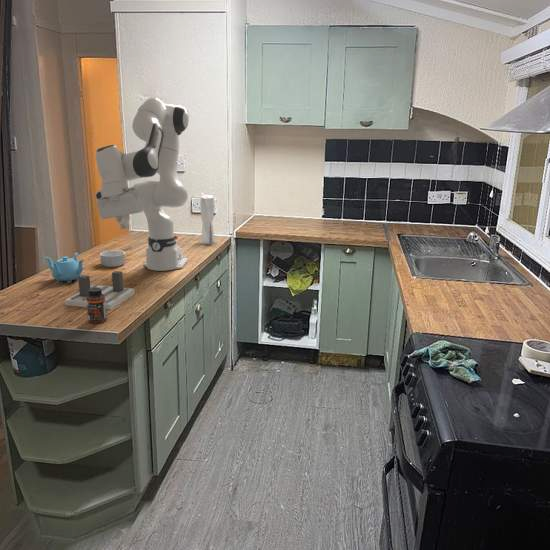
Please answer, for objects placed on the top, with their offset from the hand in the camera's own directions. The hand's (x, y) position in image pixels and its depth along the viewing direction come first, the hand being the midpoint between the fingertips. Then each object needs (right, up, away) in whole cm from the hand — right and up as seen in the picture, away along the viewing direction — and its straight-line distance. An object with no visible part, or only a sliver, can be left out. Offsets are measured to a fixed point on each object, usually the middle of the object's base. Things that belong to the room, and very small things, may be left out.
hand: (125, 228), depth 184 cm
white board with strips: (-11, -26, +5) cm, 29 cm away
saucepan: (-19, -11, +53) cm, 58 cm away
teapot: (-32, -19, +26) cm, 46 cm away
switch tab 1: (-16, -25, +3) cm, 29 cm away
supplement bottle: (-5, -33, -15) cm, 36 cm away
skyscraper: (+18, 0, +93) cm, 95 cm away
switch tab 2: (-5, -23, +8) cm, 25 cm away
